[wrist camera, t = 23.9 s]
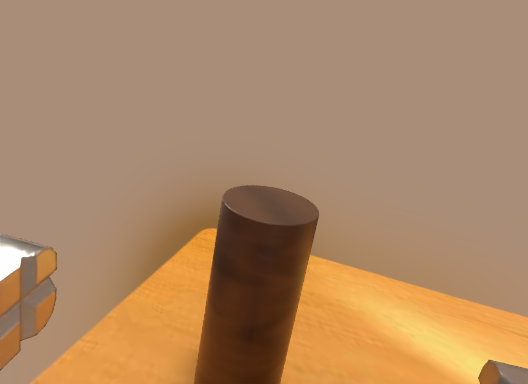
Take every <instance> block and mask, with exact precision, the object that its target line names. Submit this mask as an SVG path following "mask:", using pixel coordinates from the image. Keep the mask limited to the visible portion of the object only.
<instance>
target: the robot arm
mask: <svg viewBox="0 0 528 384" xmlns="http://www.w3.org/2000/svg"><path fill="white" fill-rule="evenodd" d="M56 269H57V253H56V252H55V251H54V250H53V248H52V247H49V246H44V245H41V244H38V243H34V242H31V241H27V240H23V239H20V238H16V237H12V236H9V235H4V234H2V233H0V370H1V369H2V368H3V367H4V366H5V365H7V363H9V361H11V360H12V359H13V358H14V357H15V356H16V355H17V354H18V353H19V352H20V341H22V340H25V339H28V338H30V337H33V336H36V335H37V334H38V333H39V332H40V331H41V330H42V329H43V328H44V327H45V325H46V324H47V322H48V320H49V318H50V316H51V314H52V313H53V310H54V305H55V301H56V287H55V286H54V284H53V282H52V280H51V279H50V277H49V276H50V275H51V274H52V273H53V272H54V271H55V270H56ZM478 379H479V382H480V384H528V369H526V368H522V367H518V366H514V365H509V364H505V363H501V362H497V361H492V360H488V362H487V363H486V364H485V365H484V366H483V368H482V370H481V373H480V375H479V377H478Z"/></svg>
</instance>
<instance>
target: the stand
mask: <svg viewBox="0 0 528 384" xmlns="http://www.w3.org/2000/svg"><path fill="white" fill-rule="evenodd" d="M318 217H319V211H318V209H317V208H316V206H315V205H314V204H313V203H311V202H310V201H309V200H307V199H305V198H304V197H302V196H299V195H297V194H295V193H292V192H289V191H286V190H282V189H278V188H273V187H267V186H253V185H252V186H240V187H234V188H231V189H229V190H227V191H226V192H225V193H224V194H223V196H222V202H221V209H220V215H219V223H218V229H217V235H216V242H215V248H214V255H213V261H212V268H211V275H210V281H209V288H208V294H207V301H206V308H205V314H204V321H203V327H202V334H201V341H200V347H199V354H198V360H197V367H196V374H195V381H194V384H280V381H281V377H282V373H283V368H284V364H285V360H286V355H287V351H288V347H289V342H290V338H291V334H292V329H293V325H294V321H295V316H296V312H297V308H298V303H299V299H300V295H301V290H302V286H303V282H304V278H305V273H306V269H307V265H308V260H309V256H310V252H311V247H312V243H313V239H314V234H315V230H316V226H317V221H318Z"/></svg>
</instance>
